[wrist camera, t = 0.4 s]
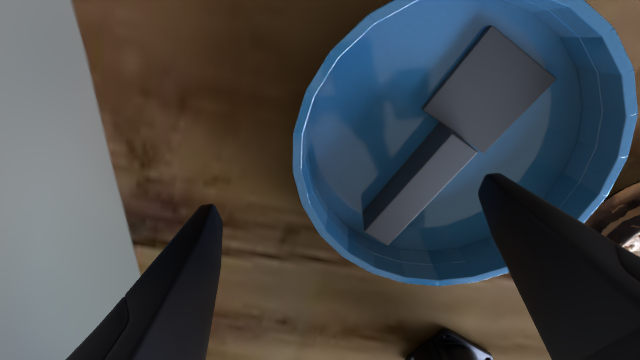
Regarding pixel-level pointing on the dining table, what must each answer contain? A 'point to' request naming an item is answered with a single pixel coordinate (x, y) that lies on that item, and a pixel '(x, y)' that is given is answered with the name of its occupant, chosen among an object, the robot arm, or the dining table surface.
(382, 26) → the bowl
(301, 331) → the dining table surface
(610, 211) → the plate of food
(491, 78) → the spatula
